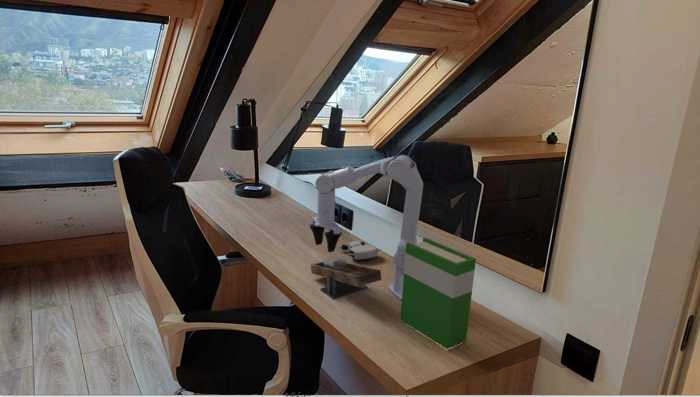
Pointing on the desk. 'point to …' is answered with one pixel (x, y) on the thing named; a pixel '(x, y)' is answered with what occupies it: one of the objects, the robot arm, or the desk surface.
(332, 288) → the pivot stand
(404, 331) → the desk surface
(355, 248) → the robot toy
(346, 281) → the wooden rimmed tray
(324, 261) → the block
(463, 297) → the hardback book
